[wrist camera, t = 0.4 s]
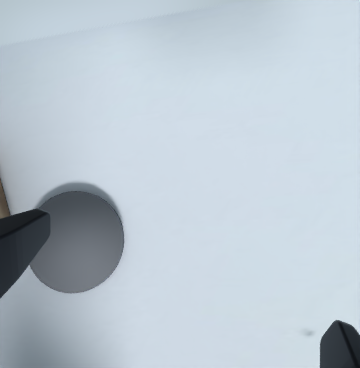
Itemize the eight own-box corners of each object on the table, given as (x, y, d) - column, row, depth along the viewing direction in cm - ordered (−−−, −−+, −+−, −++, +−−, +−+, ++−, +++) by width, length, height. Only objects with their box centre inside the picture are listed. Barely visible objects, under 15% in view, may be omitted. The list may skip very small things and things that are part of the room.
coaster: (122, 292, 23) (120, 294, 23) (26, 290, 24) (22, 292, 23) (125, 191, 24) (123, 190, 24) (32, 192, 25) (28, 191, 24)
